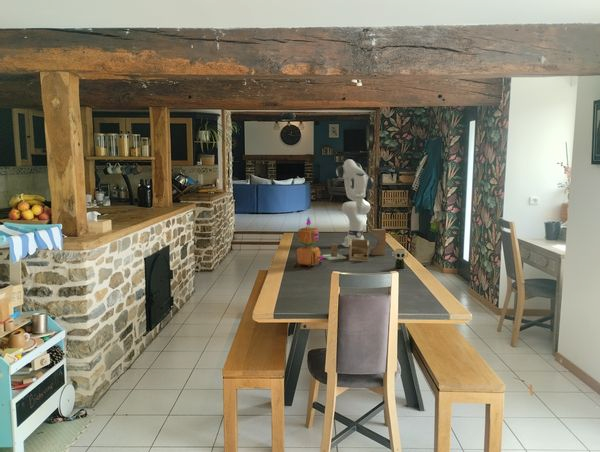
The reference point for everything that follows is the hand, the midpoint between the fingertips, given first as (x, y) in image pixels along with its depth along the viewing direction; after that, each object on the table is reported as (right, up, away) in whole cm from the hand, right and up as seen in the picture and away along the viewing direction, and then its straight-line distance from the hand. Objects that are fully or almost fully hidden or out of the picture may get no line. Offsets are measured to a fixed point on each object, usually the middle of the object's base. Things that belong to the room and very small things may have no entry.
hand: (359, 212), depth 384 cm
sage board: (-20, -35, -7) cm, 40 cm away
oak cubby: (-1, -35, -6) cm, 35 cm away
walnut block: (-20, -33, -7) cm, 39 cm away
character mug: (+23, -40, -42) cm, 62 cm away
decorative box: (-38, -39, -39) cm, 67 cm away
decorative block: (+16, -33, +7) cm, 37 cm away
